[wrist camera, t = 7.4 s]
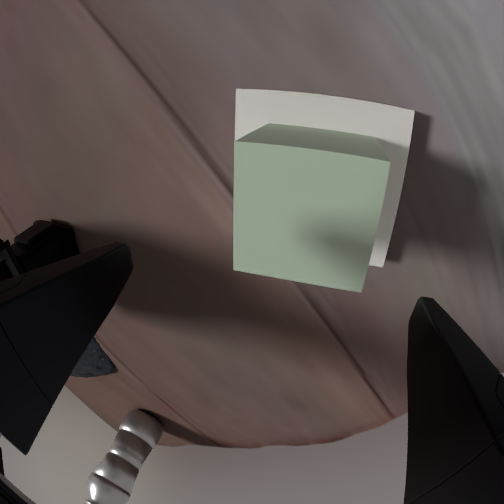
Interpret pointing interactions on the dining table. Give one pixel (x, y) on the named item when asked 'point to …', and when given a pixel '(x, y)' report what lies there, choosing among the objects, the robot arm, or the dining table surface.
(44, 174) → the dining table surface
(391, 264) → the dining table surface
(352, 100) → the tile
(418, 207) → the dining table surface
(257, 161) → the cube
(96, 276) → the robot arm
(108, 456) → the plastic bottle
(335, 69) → the dining table surface
